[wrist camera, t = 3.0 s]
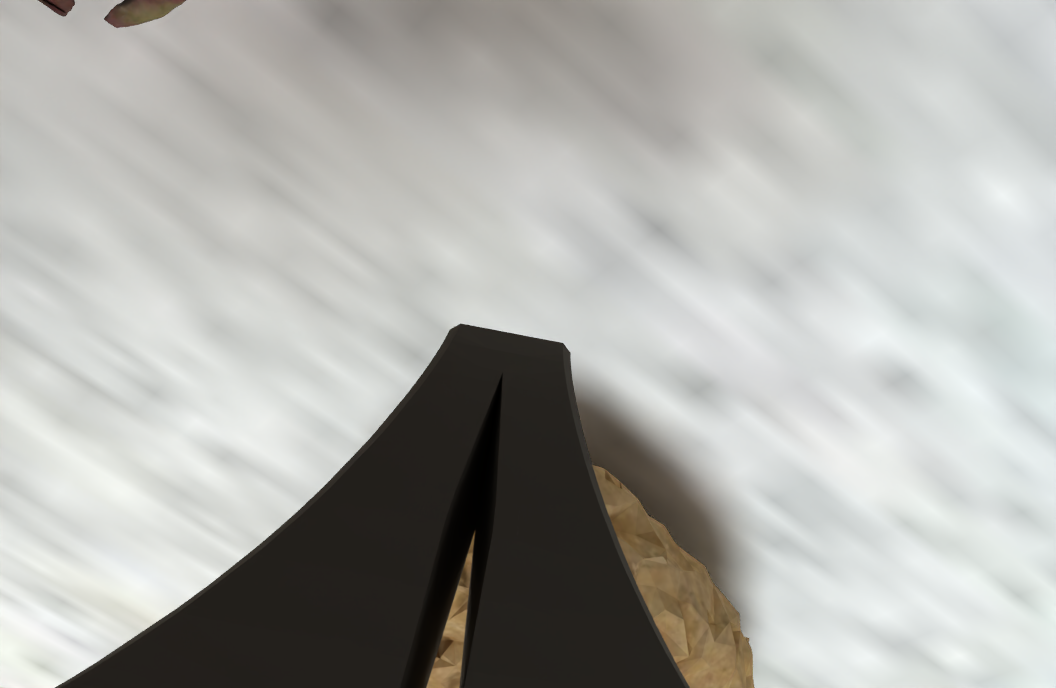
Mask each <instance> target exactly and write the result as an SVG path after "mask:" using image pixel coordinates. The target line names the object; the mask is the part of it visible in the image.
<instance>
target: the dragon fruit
mask: <svg viewBox="0 0 1056 688" xmlns="http://www.w3.org/2000/svg"><path fill="white" fill-rule="evenodd" d="M38 1H40V2H41V3H43V4H44V5H46V6H47V7H49V8H50V9H52V10H53V11H54V12H56V13H57V14H59V15H61V16H66V15H67V13H68V12H69V11H71V9H72V7H73V6H74V5H75V1H74V0H38ZM185 1H186V0H124V1H123V2H122V3H120V4H117V5H116V6H115V7H114V8H113V9H112V10H111V11H110V12H109V14H108V15H107V16H106V17H105V18H104V20H106V21H107V22H108V23H110V24H111V25H113V26H114V27H116V28H120V27H129V26H134V25H139V24H142V23H145V22H148V21H151V20H154V19H158V18H161V17H163V16H165V15H166V14H168V13H169V12H170V11H171V10H173V9H174V8H176V7H177V6H179V5H181V4H182V3H184V2H185Z"/></svg>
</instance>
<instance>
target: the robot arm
mask: <svg viewBox="0 0 1056 688" xmlns="http://www.w3.org/2000/svg"><path fill="white" fill-rule="evenodd" d="M474 532H475V535H474ZM473 535H474V545H473V555H472V565H471V575H470V585H469V595H468V605H467V615H466V625H465V635H464V645H463V656H462V666H461V676H460V686H459V688H690V687H689V685H688V683H687V682H686V680H685V678H684V676H683V675H682V673H681V671H680V670H679V668H678V666H677V664H676V662H675V660H674V658H673V656H672V654H671V653H670V651H669V649H668V647H667V645H666V643H665V641H664V639H663V637H662V635H661V633H660V631H659V629H658V628H657V626H656V624H655V622H654V620H653V617H652V615H651V613H650V611H649V609H648V607H647V605H646V603H645V601H644V599H643V596H642V594H641V592H640V590H639V588H638V586H637V584H636V581H635V579H634V577H633V574H632V572H631V570H630V568H629V565H628V563H627V560H626V558H625V556H624V553H623V551H622V548H621V546H620V543H619V541H618V538H617V535H616V533H615V530H614V527H613V525H612V522H611V520H610V517H609V514H608V512H607V509H606V506H605V503H604V500H603V497H602V494H601V491H600V488H599V485H598V482H597V479H596V475H595V472H594V469H593V465H592V462H591V459H590V456H589V452H588V449H587V446H586V442H585V438H584V434H583V430H582V426H581V422H580V417H579V413H578V408H577V404H576V399H575V393H574V388H573V381H572V373H571V362H570V352H569V350H568V349H567V348H566V346H565V345H564V344H563V343H560V342H554V341H549V340H544V339H539V338H533V337H528V336H523V335H518V334H512V333H507V332H502V331H497V330H491V329H486V328H481V327H476V326H470V325H465V324H459V325H457V326H456V327H454V328H452V329H450V331H449V333H448V335H447V336H446V338H445V340H444V342H443V344H442V345H441V347H440V349H439V350H438V352H437V353H436V355H435V356H434V358H433V359H432V361H431V362H430V364H429V365H428V367H427V368H426V370H425V371H424V372H423V374H422V375H421V376H420V378H419V379H418V380H417V382H416V383H415V384H414V386H413V387H412V388H411V390H410V391H409V392H408V394H407V395H406V396H405V397H404V399H403V400H402V401H401V402H400V403H399V405H398V406H397V407H396V408H395V409H394V411H393V412H392V413H391V414H390V415H389V417H388V418H387V419H386V420H385V421H384V423H383V424H382V425H381V426H380V427H379V429H378V430H377V431H376V432H375V433H374V434H373V436H372V437H371V438H370V439H369V440H368V441H367V442H366V443H365V444H364V445H363V446H362V447H361V449H360V450H359V451H358V452H357V453H356V454H355V455H354V456H353V457H352V458H351V459H350V460H349V461H348V462H347V463H346V464H345V465H344V466H343V467H342V468H341V469H340V470H339V471H338V473H337V474H336V475H335V476H334V477H333V478H332V479H331V480H330V481H329V482H328V483H327V484H326V485H325V486H324V487H323V488H322V489H321V490H320V491H319V492H318V493H317V494H316V495H315V496H314V497H312V498H311V499H310V500H309V501H308V502H307V503H306V504H305V505H304V506H303V507H302V508H301V509H300V510H299V511H298V512H296V513H295V514H294V515H293V516H292V517H291V518H290V519H289V520H288V521H286V522H285V523H284V524H283V525H282V526H281V527H280V528H278V529H277V530H276V531H275V532H274V533H273V534H272V535H270V536H269V537H268V538H267V539H266V540H265V541H263V542H262V543H261V544H260V545H259V546H257V547H256V548H255V549H254V550H252V551H251V552H250V553H249V554H247V555H246V556H245V557H244V558H242V559H241V560H240V561H239V562H237V563H236V564H235V565H234V566H232V567H231V568H230V569H229V570H227V571H226V572H225V573H224V574H222V575H221V576H220V577H219V578H217V579H216V580H215V581H213V582H212V583H211V584H210V585H208V586H207V587H206V588H204V589H203V590H202V591H200V592H199V593H198V594H196V595H195V596H193V597H192V598H191V599H189V600H188V601H187V602H185V603H184V604H182V605H181V606H180V607H178V608H177V609H176V610H174V611H173V612H171V613H170V614H168V615H167V616H165V617H164V618H162V619H161V620H159V621H158V622H156V623H155V624H153V625H152V626H150V627H149V628H147V629H146V630H144V631H143V632H141V633H140V634H138V635H137V636H135V637H134V638H132V639H131V640H129V641H128V642H126V643H125V644H123V645H122V646H120V647H119V648H117V649H116V650H114V651H113V652H111V653H110V654H109V655H107V656H106V657H104V658H103V659H101V660H100V661H98V662H96V663H95V664H93V665H92V666H90V667H88V668H87V669H85V670H84V671H82V672H80V673H79V674H77V675H76V676H74V677H72V678H71V679H69V680H67V681H66V682H64V683H62V684H60V685H59V686H57V687H55V688H426V687H427V684H428V681H429V678H430V674H431V671H432V668H433V665H434V661H435V658H436V655H437V652H438V649H439V645H440V642H441V639H442V636H443V632H444V629H445V626H446V623H447V620H448V616H449V613H450V610H451V607H452V603H453V600H454V597H455V594H456V591H457V587H458V584H459V581H460V578H461V574H462V571H463V568H464V565H465V561H466V558H467V555H468V552H469V548H470V545H471V542H472V539H473Z"/></svg>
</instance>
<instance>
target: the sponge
mask: <svg viewBox="0 0 1056 688" xmlns="http://www.w3.org/2000/svg"><path fill="white" fill-rule="evenodd" d="M593 469H594V472H595V475H596V479H597V482H598V485H599V488H600V491H601V494H602V497H603V500H604V503H605V506H606V509H607V512H608V514H609V517H610V520H611V522H612V525H613V527H614V530H615V533H616V535H617V538H618V541H619V543H620V546H621V548H622V551H623V553H624V556H625V558H626V560H627V563H628V565H629V568H630V570H631V572H632V574H633V577H634V579H635V581H636V584H637V586H638V588H639V590H640V592H641V594H642V596H643V599H644V601H645V603H646V605H647V607H648V609H649V611H650V613H651V615H652V617H653V620H654V622H655V624H656V626H657V628H658V629H659V631H660V633H661V635H662V637H663V639H664V641H665V643H666V645H667V647H668V649H669V651H670V653H671V654H672V656H673V658H674V660H675V662H676V664H677V666H678V668H679V670H680V671H681V673H682V675H683V676H684V678H685V680H686V682H687V683H688V685H689V687H690V688H754V683H753V654H752V650H751V647H750V645H749V643H748V641H749V638H747V637H744V636H743V634H742V633H741V630H740V616H739V613H738V612H737V611H736V609H735V608H734V607H733V606H732V605H731V603H730V602H729V601H728V600H727V599H726V597H725V596H724V595H723V594H722V592H721V591H720V590H719V589H718V588H717V587H716V586H715V585H714V584H713V582H712V580H711V578H710V576H709V573H708V571H707V569H706V567H705V566H704V565H703V564H702V563H700V562H699V561H698V560H696V559H695V558H694V557H692V556H691V555H689V554H688V553H687V552H685V551H684V550H683V549H681V548H680V547H679V546H678V545H677V544H676V543H675V542H674V540H673V539H672V537H671V535H670V534H669V532H668V530H667V529H666V527H665V526H664V525H663V524H661V523H660V522H658V521H656V520H655V519H653V518H651V517H650V516H648V514H647V513H646V511H645V509H644V508H643V506H642V505H641V503H640V501H639V500H638V498H637V497H636V496H635V495H633V494H632V493H631V492H630V491H629V490H628V489H627V488H626V487H625V486H624V485H623V484H622V483H621V482H620V481H619V480H618V479H617V478H615V477H614V476H613V475H612V474H611V473H609V472H608V471H607V470H606V469H604V468H602V467H598V466H595V465H593ZM474 535H475V532H474ZM474 535H473V539H472V542H471V545H470V548H469V552H468V555H467V558H466V561H465V565H464V568H463V571H462V574H461V578H460V581H459V584H458V587H457V591H456V594H455V597H454V600H453V603H452V607H451V610H450V613H449V616H448V620H447V623H446V626H445V629H444V632H443V636H442V639H441V642H440V645H439V649H438V652H437V655H436V658H435V661H434V665H433V668H432V671H431V674H430V678H429V681H428V684H427V687H426V688H459V686H460V676H461V666H462V656H463V645H464V635H465V625H466V615H467V605H468V595H469V585H470V575H471V565H472V555H473V545H474Z"/></svg>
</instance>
